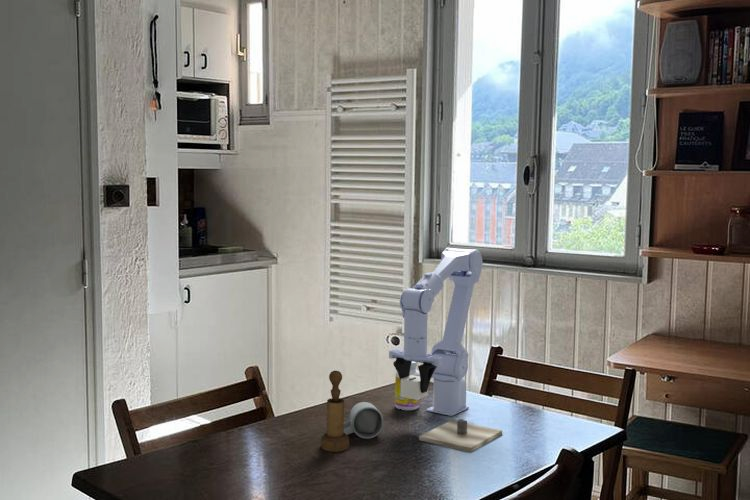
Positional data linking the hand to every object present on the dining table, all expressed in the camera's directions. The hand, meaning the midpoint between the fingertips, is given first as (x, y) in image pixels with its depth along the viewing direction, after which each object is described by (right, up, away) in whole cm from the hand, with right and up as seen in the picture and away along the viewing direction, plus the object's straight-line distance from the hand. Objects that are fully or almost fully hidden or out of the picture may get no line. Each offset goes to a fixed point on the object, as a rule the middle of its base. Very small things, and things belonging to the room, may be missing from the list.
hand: (414, 390), depth 206 cm
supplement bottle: (-1, -8, +18) cm, 19 cm away
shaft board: (+11, -10, -7) cm, 16 cm away
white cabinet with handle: (0, -2, 0) cm, 2 cm away
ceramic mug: (-14, -10, -5) cm, 18 cm away
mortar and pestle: (-19, -11, -15) cm, 27 cm away
